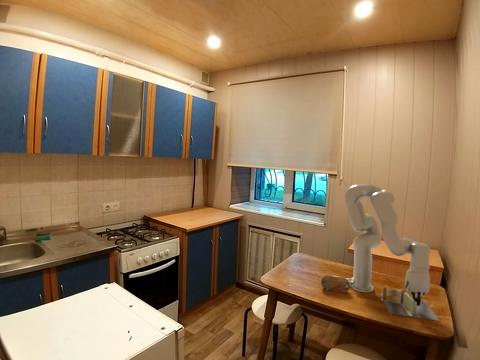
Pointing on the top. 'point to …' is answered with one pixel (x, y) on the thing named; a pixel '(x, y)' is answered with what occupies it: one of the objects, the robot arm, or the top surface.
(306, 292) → the top surface
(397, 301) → the base
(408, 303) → the bar
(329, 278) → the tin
